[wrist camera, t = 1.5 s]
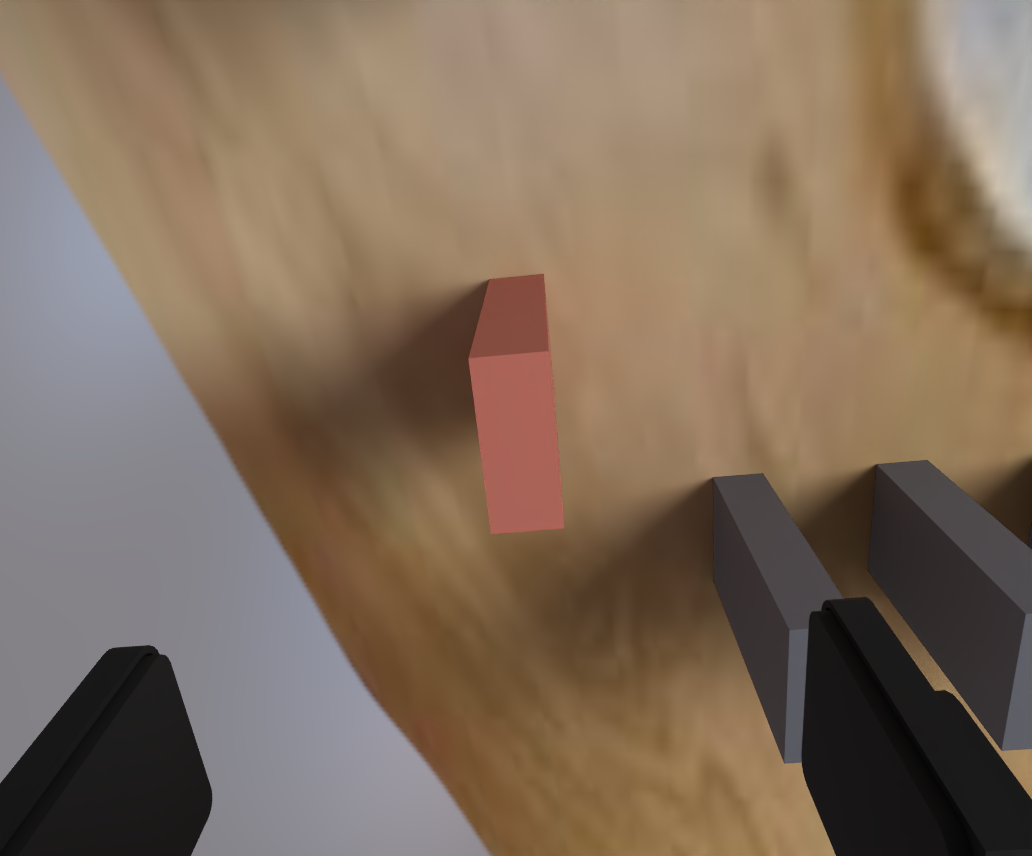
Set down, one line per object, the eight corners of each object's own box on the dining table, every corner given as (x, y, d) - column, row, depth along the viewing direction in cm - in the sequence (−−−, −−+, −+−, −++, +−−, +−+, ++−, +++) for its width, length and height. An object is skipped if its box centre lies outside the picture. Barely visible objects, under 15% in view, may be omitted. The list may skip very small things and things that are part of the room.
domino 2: (927, 460, 31) (1099, 608, 21) (916, 567, 32) (1069, 746, 23) (876, 464, 31) (1025, 614, 21) (867, 570, 33) (1001, 750, 23)
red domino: (543, 274, 28) (548, 350, 19) (554, 401, 30) (564, 528, 21) (489, 279, 28) (468, 358, 19) (503, 405, 30) (491, 534, 21)
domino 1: (762, 473, 31) (861, 625, 22) (760, 578, 33) (850, 759, 24) (712, 477, 31) (789, 630, 22) (713, 582, 33) (784, 763, 24)
